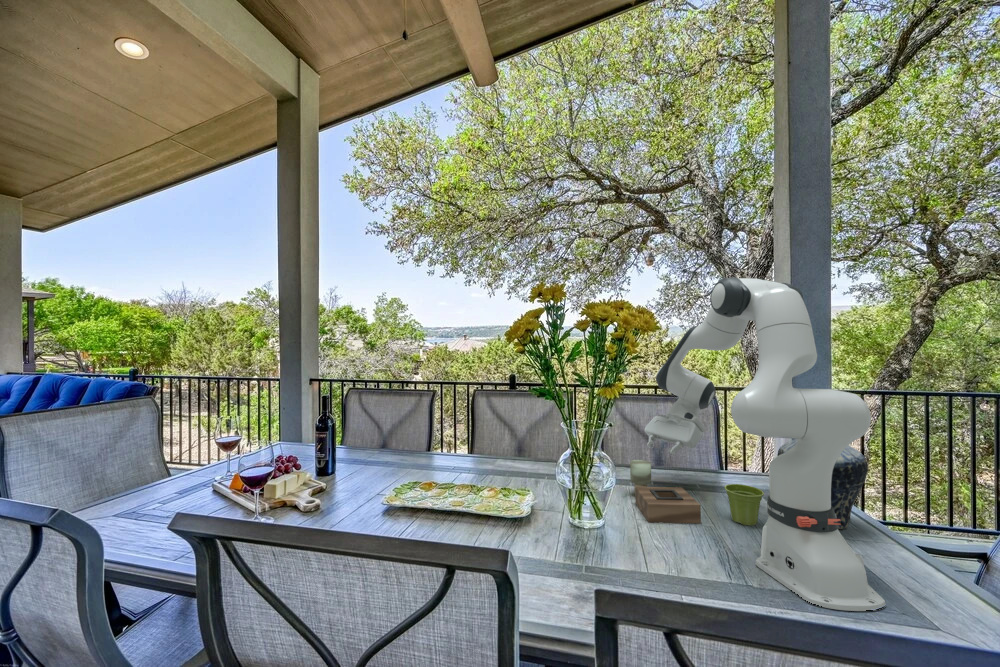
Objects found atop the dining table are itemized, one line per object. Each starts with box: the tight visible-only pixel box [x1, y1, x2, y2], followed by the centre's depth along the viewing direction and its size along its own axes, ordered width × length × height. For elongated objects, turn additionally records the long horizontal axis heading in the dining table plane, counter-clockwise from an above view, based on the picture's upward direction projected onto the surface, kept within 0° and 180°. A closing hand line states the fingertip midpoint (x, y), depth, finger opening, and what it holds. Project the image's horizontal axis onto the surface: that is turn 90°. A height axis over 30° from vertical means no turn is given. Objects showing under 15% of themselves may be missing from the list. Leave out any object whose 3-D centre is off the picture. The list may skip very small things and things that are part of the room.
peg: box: [629, 459, 652, 492], centre depth 137 cm, size 6×6×10 cm
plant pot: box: [724, 483, 765, 526], centre depth 116 cm, size 9×9×9 cm
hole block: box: [634, 486, 702, 524], centre depth 122 cm, size 14×14×5 cm
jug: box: [776, 438, 869, 530], centre depth 115 cm, size 21×19×30 cm
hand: (659, 450), depth 140 cm, fingers open, 8 cm apart
